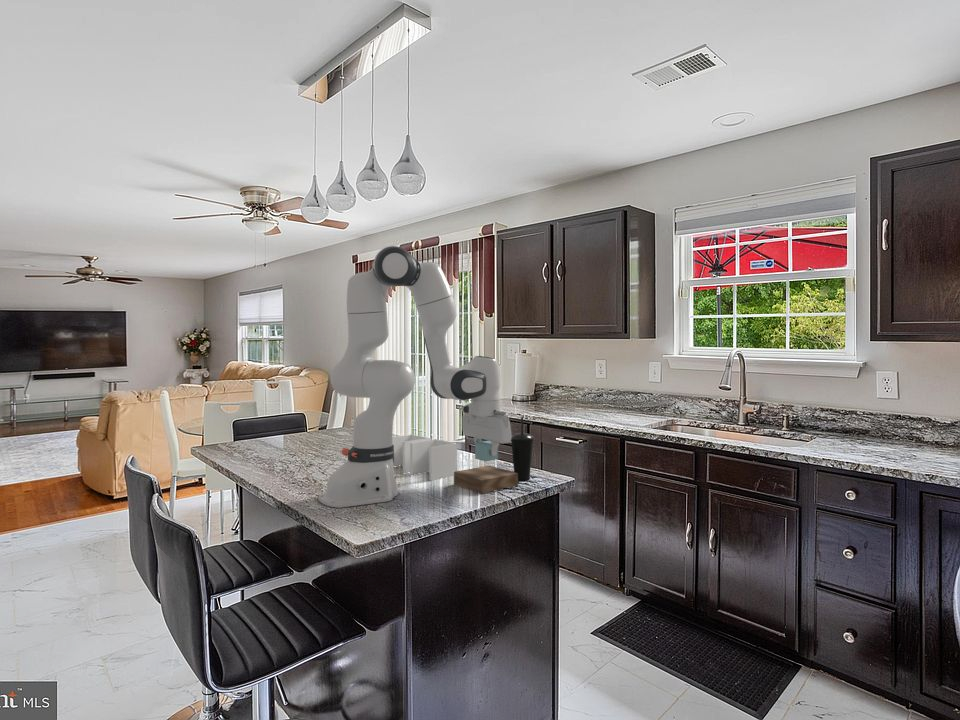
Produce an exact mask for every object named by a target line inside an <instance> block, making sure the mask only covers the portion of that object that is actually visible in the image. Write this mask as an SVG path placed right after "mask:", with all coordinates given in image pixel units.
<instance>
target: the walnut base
mask: <svg viewBox="0 0 960 720" xmlns="http://www.w3.org/2000/svg"><path fill="white" fill-rule="evenodd" d="M453 484H454V486H458V487H461V488H464V489H466V490H469V491H472V492H475V491H476V492H475V493H477V492H479V493H478V494H480V493H484V494H486V493H485V492H489V493H491V492H490V491H494V490H498V491H500V490H499V489H503V488H508V487H513V486H517V487H519V480H518V473H515V472H514V471H510V470H507V469H503V468H499V467H496V466H492V465H485V466H480V467H474V468H473V467H472V468H467V469H462V470H457V471H455V472H454V476H453ZM513 488H514V487H513ZM508 489H509V488H508ZM503 490H504V489H503ZM494 492H495V491H494Z"/></svg>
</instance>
